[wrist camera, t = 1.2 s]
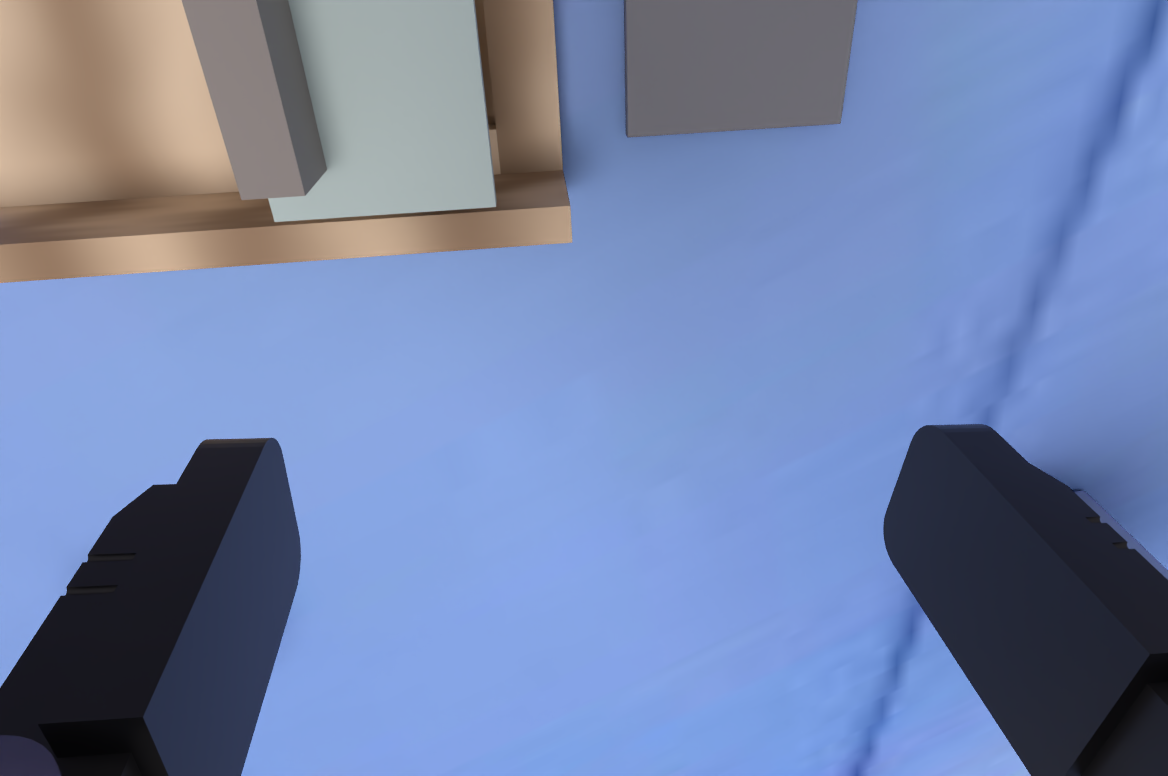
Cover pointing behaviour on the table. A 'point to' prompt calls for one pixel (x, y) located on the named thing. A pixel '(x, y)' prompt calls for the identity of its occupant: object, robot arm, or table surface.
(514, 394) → the table surface
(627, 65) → the mat
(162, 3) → the wooden rack
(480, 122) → the lid
